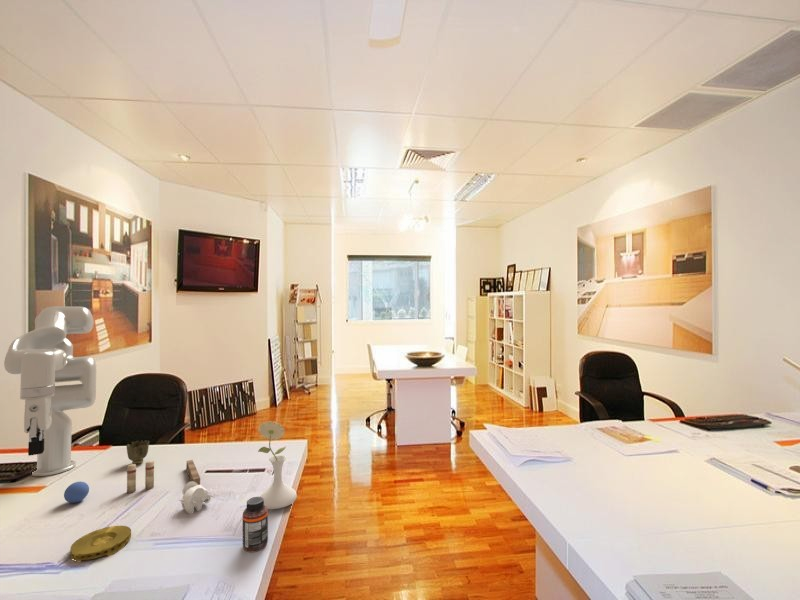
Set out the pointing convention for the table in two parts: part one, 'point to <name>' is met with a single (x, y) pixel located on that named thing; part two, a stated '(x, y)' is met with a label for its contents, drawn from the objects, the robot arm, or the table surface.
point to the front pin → (131, 478)
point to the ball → (76, 492)
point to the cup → (137, 451)
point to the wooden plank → (192, 472)
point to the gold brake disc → (100, 543)
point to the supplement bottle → (255, 525)
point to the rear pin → (149, 475)
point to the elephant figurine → (194, 497)
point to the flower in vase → (276, 470)
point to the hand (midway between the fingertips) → (36, 453)
